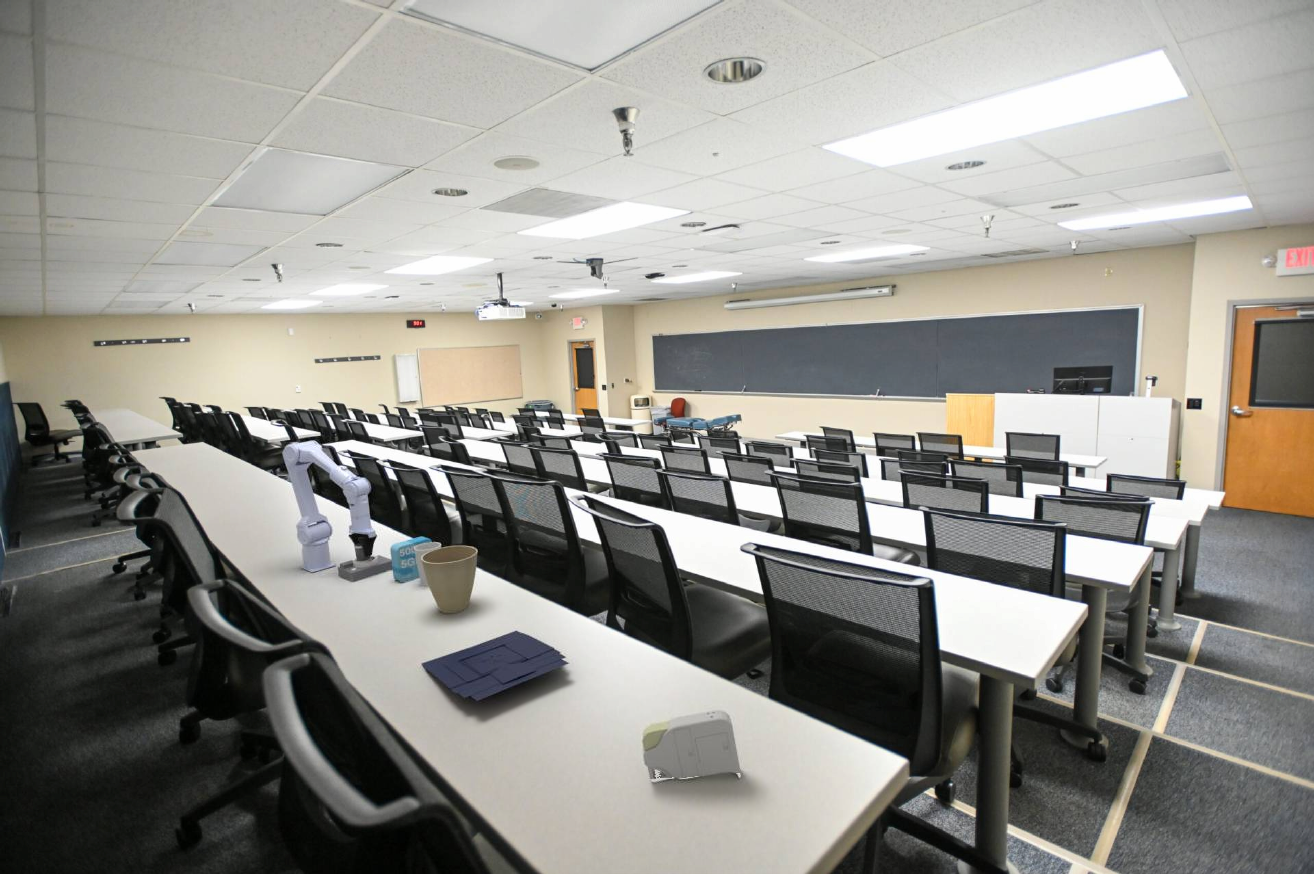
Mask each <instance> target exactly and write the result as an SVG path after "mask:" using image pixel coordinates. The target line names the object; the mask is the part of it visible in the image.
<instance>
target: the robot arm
mask: <svg viewBox="0 0 1314 874" xmlns="http://www.w3.org/2000/svg"><path fill="white" fill-rule="evenodd" d="M281 453H282V458H283V460H284V464H285V467H286V469H287V472H288V477H289V479H290V480H289V481H290V483H291V487H292V490H293V494H294V496H295V499H296V502H297V503H296V504H297V506H298V509H299V512H300V517H301V519H300V520H299V521H298V522H297V524H296V525H295V526H296V538H297V540H298V542H299V543H300V544H301V545H302V548H301V553H302V554H301V555H302V561H303V565H301V566H300V568H301V569H304V570H306V571H308V572H310V573H316V572H319V571H322V570H325V569H329V568H333V567H336V566H337V564H336V563H334V562H331V561H332V560H331V554H330V553H331V552H330V546H329V545H330V544H329V540H331V536H332V535H333V531H334V530H333V525H332V524H331V523H330V522H329V520H328V517H327V516H326V515H324V514H322V513H320V511H319V508H318V503H317V500H316V497H315V493H314V491H313V488H312V483H311V481H310V477H309V473H308V470H307V469H308V468H309V467H310V465H312V464H313V463H314V464H315V465H316V466H318V467H319V468H321V469H322V470H324V471H325V472H326V473H328V474H329V480H332V482H334V483H335V484H336V485H338V487H340V488H341V489H342V493H343V495H344V496H345V498H346V501H347V503H348V507H349V512H350V513H349V514H350V522H351V524H350V525H348V538H349V539H350V540H351V542H352V543H353V545H355V544H357V543H361V545H362V548H363V553H364V556H365V557H368V556H373V551H374V544H375V542H376V540H377V538H378V535H377V534H376V530H374V528H373V526H372V522H371V514H370V505H369V497H368V495H369V494H370V493H371V490H372V486H371V485H372V484H371V483H370V481H369V480H368V479H367V478H366V477H360V476H357V475H355V474H354V473H353V472H352V471H351V470H350V469H348V467H347V466H346V465H337V464H336V463H335V462H334V460H333V459H331V458H330V457H329V456H328V455H327V454H326V453H325V452H324V451H323V446H322V445H321V444H320V443H318V442H317V441H316V440H308V441H303V442H298V443H292V444H291V443H290V444H287V445H286V446H285V447H284V449H283V451H282V452H281Z"/></svg>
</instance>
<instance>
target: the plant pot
mask: <svg viewBox="0 0 1314 874" xmlns="http://www.w3.org/2000/svg"><path fill="white" fill-rule="evenodd" d="M421 560H422V564H423V568H424V572H425V576H426V579H427V582H428V585H429V586H428V588H429V589H430V592H431V594H432V597H433V599H434V601H435V603H436V606H437V607H438V608H439V610H440V612H441V613H443V614H456V613H460V612H463V611H464V610H466V609H467V608H468V606H469V603H470V600H471V596H472V592H473V589H474V584H475V580H476V579H475V578H476V572H477V562H478V549H477V548H476V547H474V546H469V545H450V546H444V547H441V548H439V549H435V550H432V551H430V552H427V553H425V554H424V555H423V556H422V557H421Z"/></svg>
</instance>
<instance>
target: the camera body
mask: <svg viewBox="0 0 1314 874" xmlns="http://www.w3.org/2000/svg"><path fill="white" fill-rule="evenodd" d="M337 571H338V576H339V577H340V578H342V579H345V580H346V581H350V582H352V583H354V582H358V581H360V580H364V579H366V578H367V579H368V578H370V577H373V576H377V575H380V574H382V573H386V572H389V571H393V569H392V560H391V558H388V557H386V556H383V555H371V561H368V562H362V563H358V562H357V561H356V558H355V559H354V560H352V559H351V560H347V561H345V562H340V563H339V566H337Z"/></svg>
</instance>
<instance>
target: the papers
mask: <svg viewBox="0 0 1314 874" xmlns="http://www.w3.org/2000/svg"><path fill="white" fill-rule="evenodd" d="M565 658H567V656H566V655H564V654H562V652H561V651H559V650H558V649H555V648H554V647H553V646H551V645H549V644H547V643H545V642H543V641H541V640H539V639H538V638H535V637H533V636H532V635H529V634H527V633H524V632H522V631H521V632H520V631H519V630H514V631H511V632H509V633H506V634H503V635H500V636H498V637H495V638H492V639H489V640H487V641H484V642H481V643H479V644H478V643H477V644H476V645H473V646H470V647H468V648H463V649H461V650H458V651H455V652H452V653H451V652H450V653H449V654H446V655H443V656H440V657H437V658H434V659H430V660H426V661H424V662H421V665H422V666H423V667H424V668H425V669H426V670H427V671H428V672H430V673H431V674H432V675H433V676H435V678H437V679H438V680H439V681H440V682H441V683H443V684H444V685H445V686H446V687H448V688H449V690H451V691H452V692H453V693H455V694H459V695H460V696H461V697H463V698H464V699H466V698H468V697H471V698H473V699H474V700H475V701H477V702H478V701H480V700H483V699H485V698H487V697H489V696H492V695H495V694H497V693H499V692H501V691H504V690H507V689H508V688H511V687H514V686H517V685H519V684H522V683H523V682H526V681H529V680H531V679H533V678H535V677H536V678H537V677H539V676H541V675H543V674H546V673H548V672H551V671H553V670H556V669H559V668H560V667H563V666H566V665H569V664H570V662H568V661H566V660H564V659H565Z"/></svg>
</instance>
